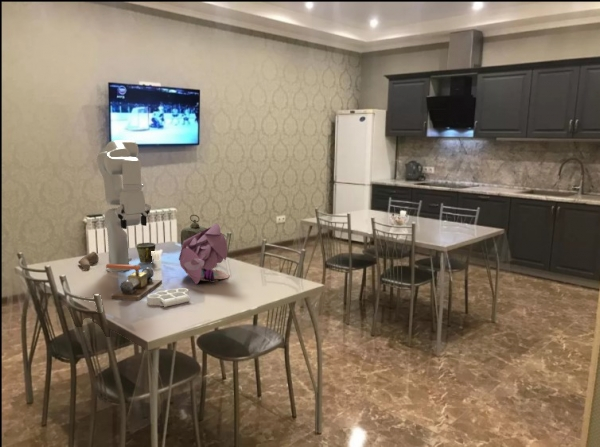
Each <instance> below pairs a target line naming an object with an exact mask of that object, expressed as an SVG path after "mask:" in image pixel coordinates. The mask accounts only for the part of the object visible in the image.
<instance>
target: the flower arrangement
mask: <svg viewBox="0 0 600 447" xmlns="http://www.w3.org/2000/svg"><path fill="white" fill-rule="evenodd" d="M227 257H228V244H227V240H226V238H225V235H224V234H222V232H221V228H220V224H219V223H214V224H213V225H212V226H210V227H208V228H207V229H206V230H204V231H203V232H200V233H198V234H196V235H194V236H192V237H191V238H189V239H187V240H185V241H183V245H182V247H181V250H180V253H179V257H178V261H179V264H180V267H181V268H182V269H183V270H184V272H185V273H186V274H187V276H189V277H190V279H191V280H192V281H193V283H195V285H198V284H199V282H200V281H206V282H214V283H216V282H217V281H219V280H222V279H223V280H224V279H229V277H230V275H229V274H227V273H226V272H223V271H222V270H219V269H215V268H216V266H217V264H220V263H222V262H223V260H224V261H226V259H227Z"/></svg>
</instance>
